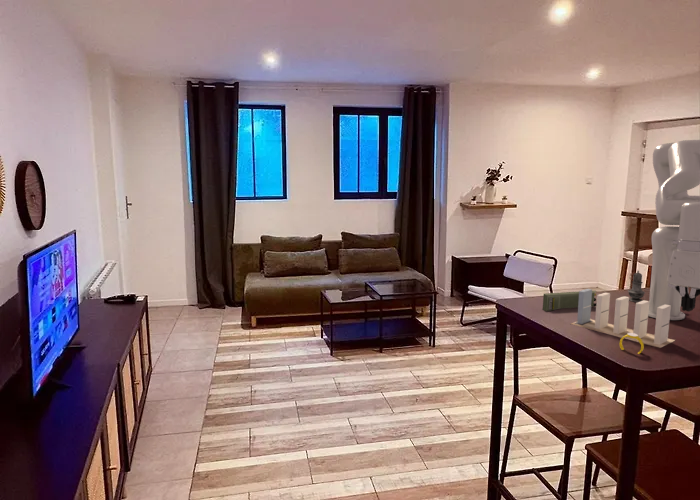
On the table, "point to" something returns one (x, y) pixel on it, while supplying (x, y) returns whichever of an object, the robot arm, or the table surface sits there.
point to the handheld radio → (563, 300)
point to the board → (609, 330)
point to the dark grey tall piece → (636, 288)
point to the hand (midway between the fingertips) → (687, 310)
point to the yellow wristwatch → (632, 335)
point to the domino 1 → (584, 306)
